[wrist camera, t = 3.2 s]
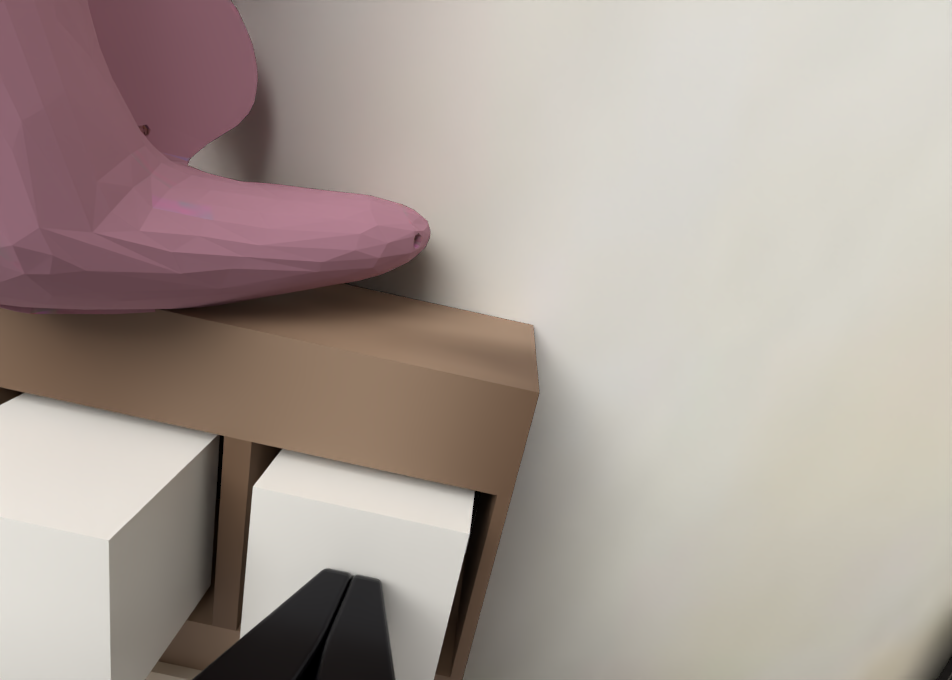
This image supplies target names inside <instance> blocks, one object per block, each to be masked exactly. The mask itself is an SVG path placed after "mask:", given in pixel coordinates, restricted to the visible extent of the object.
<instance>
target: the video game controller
mask: <svg viewBox="0 0 952 680" xmlns="http://www.w3.org/2000/svg"><path fill="white" fill-rule="evenodd" d="M257 81H258V73H257V65H256V59H255V54H254V49H253V44H252V42H251V39H250V37H249V34H248V32H247V29H246V27H245V25H244V23H243V20H242V18H241V16H240V14H239V12H238V10H237V8H236V7H235V6H234V4H233V3H232V1H231V0H0V308H3V309H7V310H12V311H16V312H22V313H28V314H127V313H145V312H155V309H182V308H196V307H206V306H215V305H223V304H228V303H235V302H241V301H246V300H252V299H257V298H263V297H269V296H274V295H280V294H285V293H291V292H297V291H302V290H308V289H313V288H319V287H325V286H330V285H336V284H342V283H348V282H354V281H360V280H363V279H367V278H371V277H374V276H378V275H382V274H384V273H386V272H388V271H390V270H392V269H395V268H397V267H399V266H401V265H403V264H405V263H407V262H409V261H410V260H412V259H413V258H414V257H415V256H417V255H418V254H419V253H420V252H421V251H422V250H423V249H424V248H425V247H426V245H427V243H428V241H429V238H430V228H429V224H428V221H427V220H425V219H424V218H423V217H422V216H421V215H420V214H418V213H417V212H416V211H415V210H413V209H411V208H409V207H407V206H404V205H402V204H399V203H395V202H391V201H388V200H384V199H381V198H377V197H374V196H370V195H363V194H354V193H345V192H336V191H327V190H318V189H311V188H303V187H295V186H288V185H280V184H271V183H258V182H242V181H238V180H234V179H229V178H225V177H221V176H217V175H213V174H209V173H206V172H204V171H201V170H198V169H196V168H193V167H190V166H188V163H189V160H190V158H191V157H193V156H194V155H195V154H196V153H197V152H199V151H200V150H201V149H202V148H203V147H205V146H206V145H207V144H208V143H210V142H212V141H213V140H215V139H216V138H218V137H220V136H221V135H223V134H225V133H226V132H228V131H229V130H231V129H233V128H234V127H236V126H237V125H238V124H239V123H240V122H241V121H242V120H243V119H244V118H245V117H246V116H247V115H248V114H249V112H250V110H251V108H252V106H253V104H254V101H255V96H256V91H257Z"/></svg>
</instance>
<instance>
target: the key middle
mask: <svg viewBox="0 0 952 680" xmlns="http://www.w3.org/2000/svg"><path fill="white" fill-rule="evenodd" d="M219 439H220V435H218V434H213V433H208V432H204V431H199V430H195V429H190V428H185V427H181V426H176V425H172V424H167V423H163V422H158V421H153V420H149V419H144V418H140V417H135V416H130V415H126V414H121V413H117V412H112V411H107V410H103V409H98V408H94V407H89V406H84V405H80V404H75V403H71V402H66V401H61V400H57V399H52V398H48V397H43V396H38V395H34V394H29V393H23V394H21V395H19V396H17V397H15V398H13V399H11V400H9V401H7V402H5V403H3V404H1V405H0V680H145V679H146V677H147V676H148V675H149V673H150V672H151V670H152V669H153V667H154V666H155V665H156V663H157V662H158V660H159V659H160V657H161V656H162V654H163V653H164V652H165V650H166V649H167V647H168V646H169V644H170V643H171V642H172V640H173V639H174V637H175V636H176V634H177V633H178V632H179V630H180V629H181V627H182V626H183V624H184V623H185V621H186V620H187V619H188V617H189V616H190V614H191V613H192V611H193V610H194V609H195V607H196V606H197V604H198V603H199V601H200V600H201V598H202V597H203V596H204V594H205V593H206V591H207V590H208V588H209V587H210V586H211V572H212V555H213V539H214V522H215V505H216V489H217V472H218V456H219Z"/></svg>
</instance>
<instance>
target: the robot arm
mask: <svg viewBox="0 0 952 680" xmlns="http://www.w3.org/2000/svg"><path fill="white" fill-rule="evenodd" d="M192 680H396V679H395V672H394V665H393V658H392V651H391V644H390V636H389V629H388V622H387V615H386V608H385V601H384V594H383V587H382V583H381V581H380V580H379V579H377V578H372V577H368V576H363V575H355V576H354V577H353V578H352V575H351V574H350V573H349V572H345V571H340V570H335V569H331V568H326V569H323V570H322V571H320V572H319V573H318V574H317V575H316V576H314V577H313V578H312V579H311V580H310V581H308V582H307V583H306V584H305V585H304V586H302V587H301V588H300V589H299V590H298V591H296V592H295V593H294V594H293V595H292V596H291V597H289V598H288V599H287V600H286V601H285V602H283V603H282V604H281V605H280V606H279V607H277V608H276V609H275V610H274V611H273V612H272V613H270V614H269V615H268V616H267V617H266V618H264V619H263V620H262V621H261V622H260V623H258V624H257V625H256V626H255V627H254V628H252V629H251V630H250V631H249V632H248V633H247V634H245V635H244V636H243V637H242V638H241V639H239V640H238V641H237V642H236V643H235V644H233V645H232V646H231V647H230V648H229V649H227V650H226V651H225V652H224V653H223V654H222V655H220V656H219V657H218V658H217V659H216V660H214V661H213V662H212V663H211V664H210V665H208V666H207V667H206V668H205V669H204V670H202V671H201V672H200V673H199V674H198V675H197V676H195V677H194V678H193V679H192ZM937 680H952V658H951V659H950V661H949V662H948V664H947V665H946V667H945V669H944V670H943V672H942V673H941V675H940V676H939V678H938V679H937Z"/></svg>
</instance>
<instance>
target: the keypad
mask: <svg viewBox="0 0 952 680" xmlns="http://www.w3.org/2000/svg"><path fill="white" fill-rule="evenodd" d="M23 393H29V394H34V395H38V396H43V397H48V398H52V399H57V400H61V401H66V402H71V403H75V404H80V405H84V406H89V407H94V408H98V409H103V410H107V411H112V412H117V413H121V414H126V415H130V416H135V417H140V418H144V419H149V420H153V421H158V422H163V423H167V424H172V425H176V426H181V427H185V428H190V429H195V430H199V431H204V432H208V433H213V434H218V435H222V436H224V447H223V462H222V478H221V494H220V500H219V499H216V505H215V522H214V539H213V555H212V572H211V586H210V587H209V588H208V590H207V591H206V593H205V594H204V596H203V597H202V598H201V600H200V601H199V603H198V604H197V606H196V607H195V609H194V610H193V611H192V613H191V614H190V616H189V617H188V619H187V620H186V621H185V623H184V624H183V626H182V627H181V629H180V630H179V632H178V633H177V634H176V636H175V637H174V639H173V640H172V642H171V643H170V644H169V646H168V647H167V649H166V650H165V652H164V653H163V654H162V656H161V657H160V659H159V660H158V662H157V663H156V665H155V666H154V667H153V669H152V670H151V672H150V673H149V675H148V676H147V677H146V679H145V680H192V679H193V678H194V677H195V676H197V675H198V674H199V673H200V672H201V671H202V670H204V669H205V668H206V667H207V666H208V665H210V664H211V663H212V662H213V661H214V660H216V659H217V658H218V657H219V656H220V655H222V654H223V653H224V652H225V651H226V650H227V649H229V648H230V647H231V646H232V645H233V644H235V643H236V642H237V641H238V640H239V639H240V631H241V619H242V608H243V596H244V584H245V573H246V561H247V549H248V538H249V526H250V514H251V503H252V491H253V486H254V485H255V483H256V482H257V481H258V479H259V478H260V477H261V476H262V474H263V473H264V472H265V470H266V469H267V468H268V467H269V465H270V464H271V463H272V461H273V460H274V459H275V457H276V456H277V455H278V454H279V452H280V451H281V450H282V449H287V450H291V451H296V452H300V453H305V454H310V455H314V456H319V457H323V458H328V459H332V460H337V461H342V462H346V463H351V464H355V465H360V466H365V467H369V468H374V469H378V470H383V471H388V472H392V473H397V474H401V475H406V476H411V477H415V478H420V479H424V480H429V481H434V482H438V483H443V484H447V485H452V486H457V487H461V488H466V489H470V490H475V491H479V492H481V493H480V497H479V502H478V506H477V510H476V514H475V518H474V522H473V526H472V530H471V534H470V538H469V542H468V546H467V550H466V553H465V555H464V559H463V563H462V567H461V571H460V575H459V579H458V583H457V587H456V591H455V595H454V599H453V603H452V607H451V612H450V616H449V620H448V624H447V628H446V632H445V636H444V640H443V644H442V648H441V652H440V656H439V660H438V664H437V668H436V672H435V677H434V680H462V679H463V675H464V671H465V667H466V664H467V660H468V656H469V653H470V649H471V645H472V641H473V638H474V634H475V630H476V627H477V623H478V619H479V615H480V612H481V608H482V604H483V601H484V597H485V593H486V589H487V586H488V582H489V578H490V575H491V571H492V567H493V563H494V560H495V556H496V552H497V549H498V545H499V541H500V537H501V534H502V530H503V526H504V523H505V519H506V515H507V511H508V508H509V504H510V500H511V497H512V493H513V489H514V485H515V482H516V478H517V474H518V471H519V467H520V463H521V459H522V456H523V452H524V448H525V445H526V441H527V437H528V433H529V430H530V426H531V422H532V419H533V415H534V411H535V407H536V404H537V400H538V396H539V382H538V371H537V361H536V350H535V339H534V328H533V325H530V324H525V323H521V322H516V321H512V320H507V319H502V318H498V317H493V316H489V315H484V314H480V313H475V312H470V311H466V310H461V309H457V308H452V307H448V306H443V305H438V304H434V303H429V302H425V301H420V300H416V299H411V298H406V297H402V296H397V295H393V294H388V293H384V292H379V291H374V290H370V289H365V288H361V287H356V286H352V285H347V284H336V285H330V286H325V287H319V288H313V289H308V290H302V291H297V292H291V293H285V294H280V295H274V296H269V297H263V298H257V299H252V300H246V301H241V302H235V303H228V304H223V305H215V306H206V307H196V308H182V309H155V312H145V313H127V314H28V313H22V312H16V311H12V310H7V309H3V308H0V405H1V404H3V403H5V402H7V401H9V400H11V399H13V398H15V397H17V396H19V395H21V394H23Z"/></svg>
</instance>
